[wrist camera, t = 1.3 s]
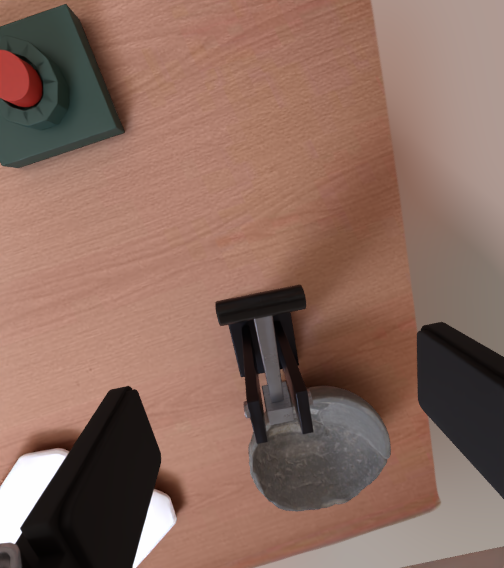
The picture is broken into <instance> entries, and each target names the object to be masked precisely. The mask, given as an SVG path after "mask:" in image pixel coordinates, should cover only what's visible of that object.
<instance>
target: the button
mask: <svg viewBox="0 0 504 568" xmlns="http://www.w3.org/2000/svg"><path fill="white" fill-rule="evenodd" d="M42 93H43V86H42V82H41V79H40V77H39V75H38V73H37V72H36V70H35V69H34V68H33V67H32V66H31V65H29V64H28V63H26V62H25V61H23V60H22V59H20V58H19V57H17V56H16V55H14V54H13V53H11V52H9V51H6V50H0V98H1V99H3V100H6V101H8V102H10V103H13V104H15V105H17V106H20V107H31V106H34V105H35V104H37V103H38V102H39V101H40V99H41V97H42Z"/></svg>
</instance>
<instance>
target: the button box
mask: <svg viewBox="0 0 504 568" xmlns="http://www.w3.org/2000/svg"><path fill="white" fill-rule="evenodd" d="M0 50H6V51H9V52H11V53H13V54H14V55H16V56H17V57H19V58H20V59H22V60H23V61H25V62H26V63H28V64H29V65H31V66H32V67H33V68H34V69H35V70H36V72H37V73H38V75H39V77H40V79H41V82H42V86H43V93H42V97H41V99H40V101H39V102H38V103H37V104H35V105H34V106H31V107H20V106H17V105H15V104H13V103H10V102H8V101H6V100H3V99H1V98H0V163H1V165H2V166H7V167H14V168H20V167H23V166H26V165H29V164H32V163H35V162H38V161H41V160H44V159H47V158H50V157H53V156H56V155H59V154H62V153H65V152H68V151H71V150H74V149H77V148H80V147H83V146H86V145H89V144H92V143H95V142H98V141H101V140H104V139H107V138H110V137H113V136H116V135H119V134H122V133H125V132H124V129H123V127H122V124H121V122H120V119H119V117H118V114H117V112H116V109H115V107H114V104H113V102H112V99H111V97H110V94H109V92H108V90H107V87H106V85H105V82H104V80H103V77H102V75H101V72H100V70H99V67H98V65H97V62H96V60H95V57H94V55H93V52H92V50H91V47H90V45H89V42H88V40H87V37H86V35H85V32H84V30H83V27H82V25H81V23H80V20H79V19H78V17H77V16H76V15H75V14H74V13H73V11H72V10H71V9H70V8H69V7H68V6H67V4H64V5H61V6H59V7H56V8H53V9H50V10H47V11H44V12H41V13H38V14H36V15H33V16H30V17H27V18H24V19H21V20H18V21H15V22H13V23H10V24H7V25H4V26H1V27H0Z"/></svg>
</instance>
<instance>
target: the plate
mask: <svg viewBox="0 0 504 568" xmlns="http://www.w3.org/2000/svg"><path fill="white" fill-rule="evenodd" d="M69 452H70V451H67V450H65V449H61V448H55V449H50V450H44V451H38V452H32V453H26V454H24V455H22V456H21V457H20V458H19V459H18V461H17V462H16V464H15V465H14V467H13V468H12V470H11V471H10V473H9V474H8V476H7V477H6V479H5V480H4V482H3V484H2V485H1V487H0V544H1V543H9V542H11V543H13V544H15V543H16V541H17V540H18V538H19V536H20V535H21V533H22V531H21V530H20V527H21V526H22V524H23V522H24V521H25V519H26V518H27V516H28V515H29V513H30V512H31V510H32V509H33V507H34V506H35V504H36V502H37V501H38V499H39V498H40V496H41V495H42V493H43V492H44V490H45V489H46V487H47V485H48V484H49V482H50V481H51V479H52V478H53V476H54V475H55V473H56V472H57V470H58V469H59V467H60V465H61V464H62V462H63V461H64V459H65V458H66V456H67V455H68V453H69ZM176 520H177V517H176V514H175V511H174V508H173V505H172V502H171V499H170V497H169V496H168V495H167V494H165V493H163V492H161V491H159V490H156V489H154V490H153V494H152V498H151V501H150V505H149V509H148V512H147V516H146V520H145V523H144V527H143V531H142V534H141V538H140V542H139V545H138V549H137V553H136V556H135V560H134V564H133V567H132V568H136V567H137V566H138V565H139V564H140V563H141V562H142V561H143V559H144V558H145V557H146V556H147V555H148V554H149V553H150V552H151V550H152V549H153V548H154V547H155V546H156V545H157V544H158V542H159V541H160V540H161V539H162V538H163V537H164V536H165V535H166V533H167V532H168V531H169V530H170V529H171V528H172V527H173V526H174V524H175V523H176Z"/></svg>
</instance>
